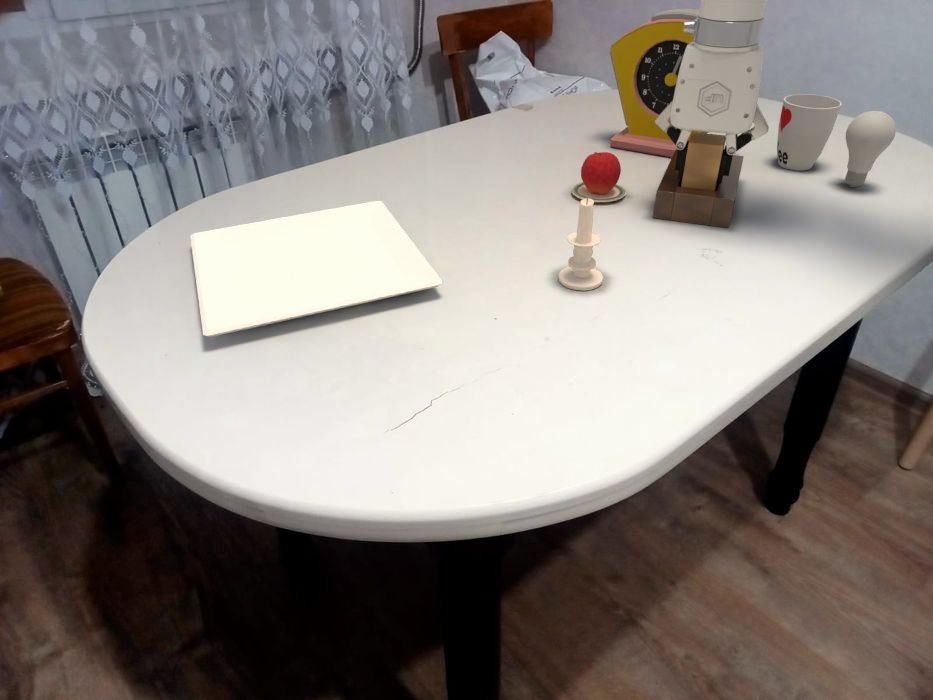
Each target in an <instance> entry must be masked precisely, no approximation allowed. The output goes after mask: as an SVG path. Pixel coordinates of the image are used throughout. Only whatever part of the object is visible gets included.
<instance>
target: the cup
mask: <svg viewBox="0 0 933 700" xmlns="http://www.w3.org/2000/svg"><path fill="white" fill-rule="evenodd" d="M842 105H843V102H842V101H841V100H840V99H837V98H834V97H831V96H826V95H821V94H810V93H797V94H790V95H786V96H785V97H783V102H782V105H781V112H780V117H779V122H778V131H777V143H776V151H777V153H776V154H777V164H778V166H780V167H781V168H783V169H787V170H791V171H808V170H810V169H812V168H813V166H814V165H815V164H816V162H817V160H818V159H819V157H820V156H821V155H822V153H823V151H824V148H825V146H826V144H827V142H828V141H829V138H830V136H831V134H832V132H833V129H834V127H835V124H836V121H837V118H838V116H839V113H840V111H841V108H842Z"/></svg>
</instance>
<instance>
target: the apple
mask: <svg viewBox="0 0 933 700" xmlns="http://www.w3.org/2000/svg"><path fill="white" fill-rule="evenodd" d="M621 173H622V167H621V163H620V160H619V157H617V156H616V155H615V154H614V153H612V152H608V151H603V152H597V151H594V152H593V153H590V154H589V155H588V156H586V158H585V159H584V161H583V163H582V165H581V168H580V178H581V180H582V182H579V183H576V184H575V185H573V186H572V187H571V193H572V195H573V196H574V197H576V198H578V199H580V200H583V199H586V198H587V197H588V198H590V199H592V200H593V201H594V203H610V202H615V201H618V200H621V199H623V198H624V197H625V196H626V194H627V190H626V189H625V187H623V186H622V185H620V184H619V183H618V182H619V180H620V177H621Z"/></svg>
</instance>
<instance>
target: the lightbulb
mask: <svg viewBox="0 0 933 700" xmlns="http://www.w3.org/2000/svg"><path fill="white" fill-rule="evenodd" d="M896 131H897V128H896V124H895V121H894V119H893V118H892V117H891V116H890V115H889V114H887V113H886V112H884V111H880V110H869V111H865V112H863V113H861V114H858V115H857V116H856V117H854V119H853V120H852V121H850V123H849V125H848V126H847V128H846V131H845V143H846V148H847V150H848V160H847V161H848V162H847V165H846V168H847V172H846V175H845V179H844V182H845V183H846V184H847V185H848V186H849V187H851V188H857V187H858V186H863V185H864V183H865V181H866V179H867V177H868V173H869V172H870V171H871V170H872V168H873V166H874V163H875V162H876V160H877V159H878V158H879V157H880V155H881V154H883V153H884V151H886V149H887V148H888V147H890V145H891V144H892V142H893V141H894V139H895V137H896Z"/></svg>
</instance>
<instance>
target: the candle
mask: <svg viewBox="0 0 933 700" xmlns="http://www.w3.org/2000/svg"><path fill="white" fill-rule="evenodd" d="M594 205H595V202H594V201H593V200H592V199H590V198H588V197H587V198H586V199H580V202H579V209H578V219H577V228H576V231H573V232H570V233H568V234H567V236H566V241H567V242H568V243H569V244H570V245H572V246H573V250H572V254H573V255H572V256H571V257H569V258H568V259H567V260H568V262H567V265H568V266H567V267H564V268H563V269H561V270H560V271H559V273H558V282H559V283H560V284H561V285H562V286H564V287H565V288H567V289H570V290H574V291H581V292H582V291H591V290H595V289H597V288H599V287H600V286H601V285H602V284H603V282H604V275H603V273H602V272H601V271H600V270H598V269H597V268H595V267H596V266H597V261H596V259H595V258H594V257H593V254H594V251H593V248H594V247H595V246H597V245H599V244H600V243H601V242H602V237H601V236H600V234H598V233H595V232H593V225H594V224H593V223H594V207H595V206H594Z"/></svg>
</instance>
